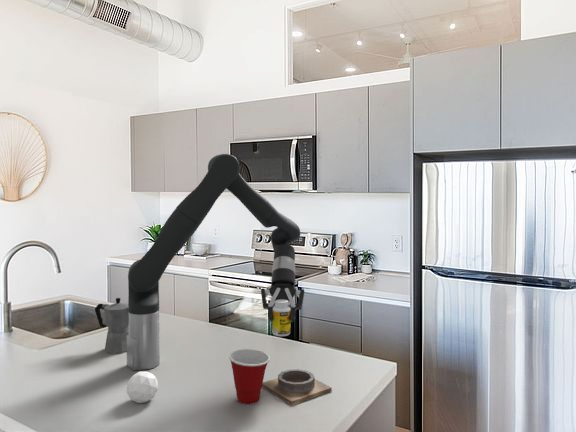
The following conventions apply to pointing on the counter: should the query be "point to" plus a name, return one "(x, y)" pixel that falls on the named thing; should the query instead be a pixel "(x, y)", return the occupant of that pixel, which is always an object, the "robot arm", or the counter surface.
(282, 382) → the ring collar
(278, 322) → the supplement bottle
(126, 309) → the coffeepot
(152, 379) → the geometric ball
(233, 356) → the plastic cup
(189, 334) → the counter surface
